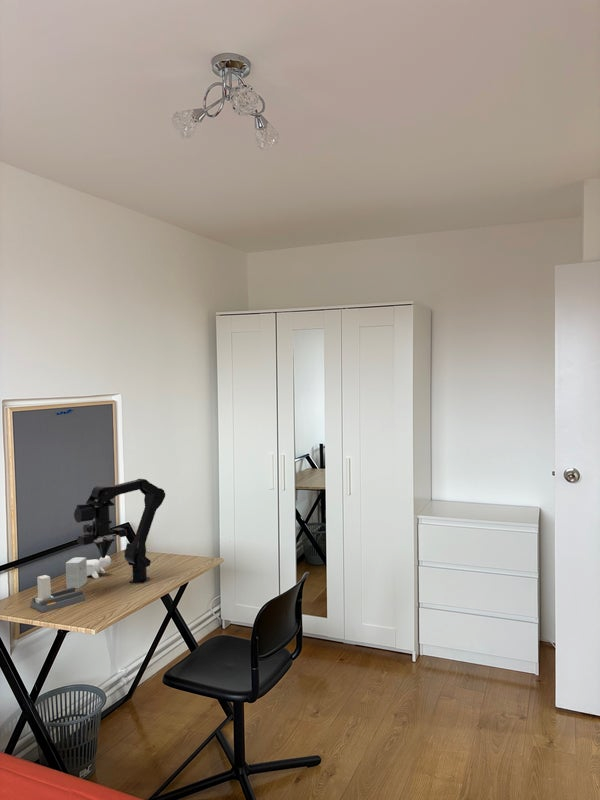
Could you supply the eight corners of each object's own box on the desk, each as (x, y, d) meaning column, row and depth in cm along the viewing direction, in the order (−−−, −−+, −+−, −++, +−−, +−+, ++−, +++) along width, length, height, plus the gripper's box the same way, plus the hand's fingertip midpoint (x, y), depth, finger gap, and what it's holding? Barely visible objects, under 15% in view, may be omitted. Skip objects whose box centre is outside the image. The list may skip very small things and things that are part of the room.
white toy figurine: (79, 586, 258) (110, 572, 257) (71, 567, 258) (102, 554, 257) (87, 580, 267) (118, 566, 266) (79, 562, 267) (110, 549, 266)
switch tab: (48, 598, 227) (47, 574, 226) (53, 600, 224) (52, 576, 224) (35, 602, 223) (34, 577, 223) (40, 604, 220) (39, 579, 220)
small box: (74, 582, 253) (73, 557, 253) (87, 582, 253) (86, 557, 253) (65, 588, 245) (65, 562, 245) (79, 588, 245) (78, 562, 245)
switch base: (72, 595, 236) (71, 586, 236) (84, 600, 230) (84, 591, 230) (30, 606, 225) (30, 597, 225) (43, 612, 218) (42, 602, 218)
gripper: (112, 512, 253) (113, 549, 253) (69, 520, 239) (71, 559, 240) (127, 515, 246) (128, 553, 246) (83, 523, 232) (85, 564, 232)
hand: (103, 557), depth 241 cm, fingers closed
